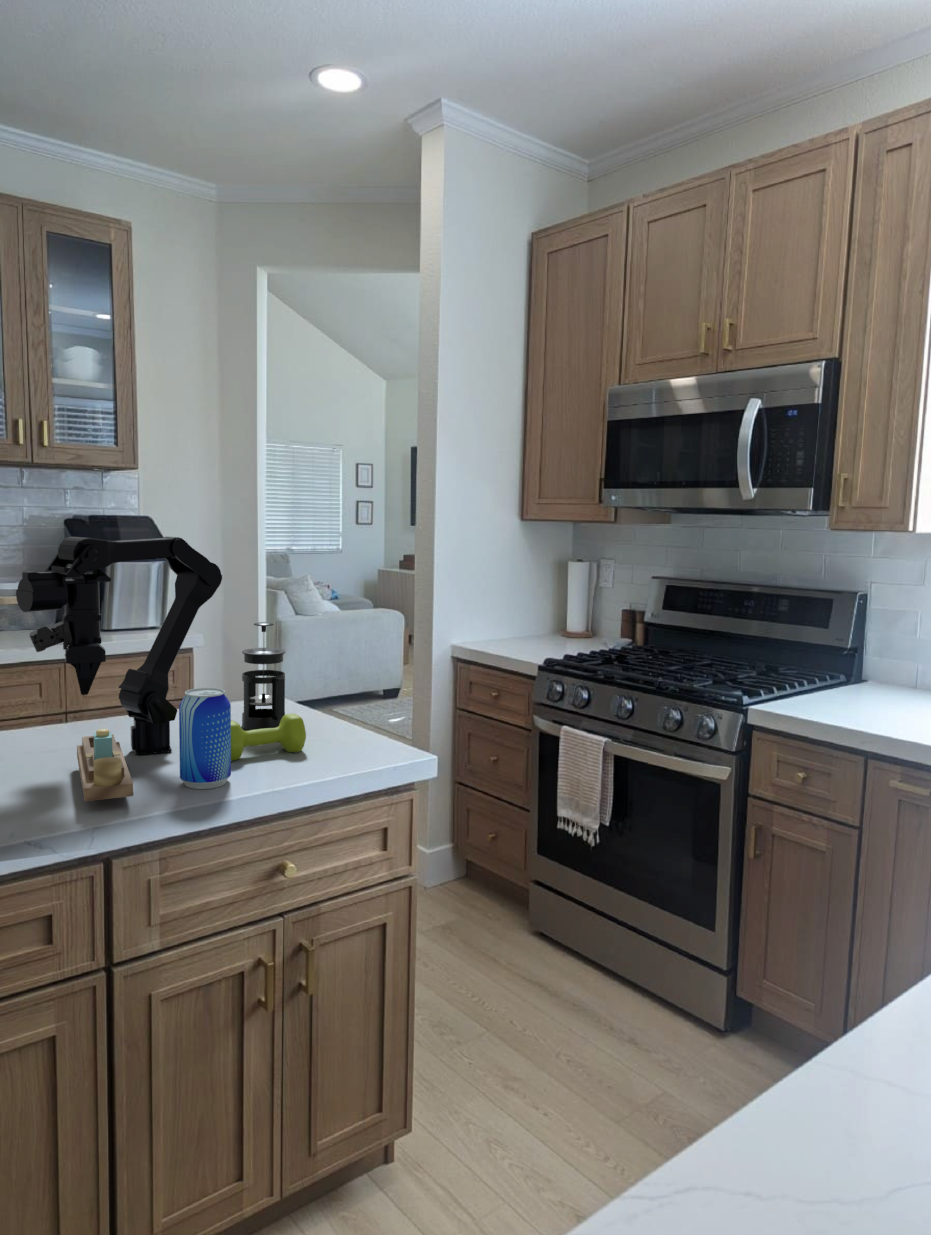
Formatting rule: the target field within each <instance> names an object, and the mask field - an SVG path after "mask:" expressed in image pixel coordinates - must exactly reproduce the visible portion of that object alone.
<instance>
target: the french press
mask: <svg viewBox="0 0 931 1235" xmlns="http://www.w3.org/2000/svg"><path fill="white" fill-rule="evenodd" d="M274 625H275V623H273V622H270V621H268V622H267V621H260V622H259V621H258V622H255V623H253V626H256V627H258V626H259V627H260V628H261V632H262V647H253V648H247V649H243V650H242V652H241V653H242V654H243V659H244V660H243V661H244V663H246V664H250V665H251V664H252V665H262V669H254V670H248V671H244V672H243V673H241V681H242V682H243V712H242V713H241V721H242V723H241V725H240V726H241V728H242V730H244V731H250V730H255V729H264V728H276V727H278V726H279V724H280V721H281V719H282V717H283V716H284V715H286V711H285V710H286V707H285V705H286V701H285V698H286V694H285V693H286V673H285V672H284V671H281V670H276V669H275V670H274V669H266V668H265V666H266V665H272V664H273V665H275V664H279V663H283V662H284V654H285V653H286V650H284V649H282V648H275V647H266V645H265V642H266V641H265V640H266V639H265V637H266V636H265V633H266V632H267V627H269V626H274ZM265 684H266V685H267V684H271V695H270V694H269V695H268V694H266V692H265V690H266V689H265V687H266V685H265ZM256 685H262V693H261V694H260V695H256V693H257V691H256V690H257V689H256V688H257V687H256ZM257 707H271V708H257Z"/></svg>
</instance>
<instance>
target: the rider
mask: <svg viewBox="0 0 931 1235" xmlns="http://www.w3.org/2000/svg"><path fill="white" fill-rule="evenodd" d="M93 736H94V760H96V759H99V758H104V757H113V751H112V733H111V731H110V729H108V728H103V729H102V728H101V729H97V730H96V731H95V732H93Z"/></svg>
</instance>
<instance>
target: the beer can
mask: <svg viewBox="0 0 931 1235" xmlns="http://www.w3.org/2000/svg"><path fill="white" fill-rule="evenodd" d="M225 693H226V690H224V689H222V688H217V687H197V688H192V689H191V688H190V689H188V690H186V691H185V692H184V696H183V698H182V700H181V701H180V703H179V705H178V720H179V722H178V725H179V726H178V728H179V729H178V730H179V733H178V734H179V744H178V745H179V778H180V780H181V781H182V782H183V785H184V786H185V787H187V788H188V789H193V790H195V789H196V790H211V789H216V788H219V787H222V786H224V785H226V783H227V781H228V779H229V778H230V777H231V774H232V761H231V720H232V719H231V718H232V716H231V715H232V714H231V712H232V711H231V710H232V707H231V702H230V700H229V698H228V697H227V695H226V694H225Z"/></svg>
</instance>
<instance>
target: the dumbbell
mask: <svg viewBox="0 0 931 1235" xmlns="http://www.w3.org/2000/svg"><path fill="white" fill-rule="evenodd" d="M241 726H242V725H240V724H239V723H238V722H236V721H235V720H233V719H231V762H234V761H237V760H239V759H240V758H241V757H242V755H243V751H244V748H246V747H257V746H265V745H271V744H277V743H279V744H280V746H281V748H282V749H283V750H285V751H286V752H288V753H291V752H295V753H300V752H301V751H303V749H304V746H305V743H306V739H307V732H306V731H307V730H306V727H305V721H304V719H303V718H302V716H299V715H298V714H296V713H285V715H284V716H283V717H282V719H281V721H280V724H279V726H278V727H276V728H264V729H255V730H250V731H244V730H242V728H241Z"/></svg>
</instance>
